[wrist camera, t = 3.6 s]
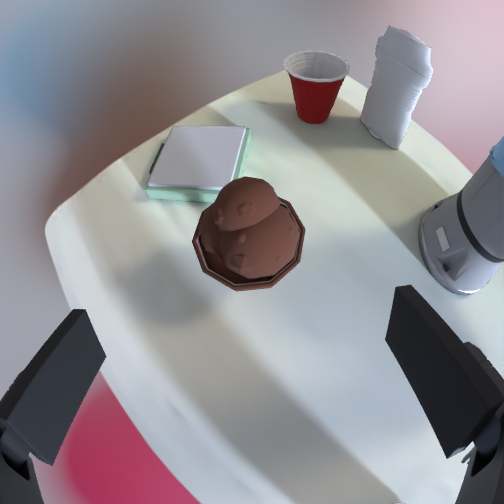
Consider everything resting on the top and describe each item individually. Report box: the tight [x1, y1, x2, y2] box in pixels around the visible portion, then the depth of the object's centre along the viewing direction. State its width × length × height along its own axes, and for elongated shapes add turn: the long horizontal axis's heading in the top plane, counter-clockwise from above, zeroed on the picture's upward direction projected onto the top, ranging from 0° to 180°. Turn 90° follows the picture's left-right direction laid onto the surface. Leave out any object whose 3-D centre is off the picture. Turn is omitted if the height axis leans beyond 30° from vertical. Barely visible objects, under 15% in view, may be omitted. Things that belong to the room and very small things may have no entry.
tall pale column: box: [360, 25, 433, 150], centre depth 34 cm, size 11×4×22 cm, turn 32°
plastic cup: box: [283, 51, 350, 124], centre depth 41 cm, size 11×11×12 cm
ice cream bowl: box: [192, 177, 305, 291], centre depth 29 cm, size 11×11×15 cm
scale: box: [144, 126, 252, 203], centre depth 41 cm, size 15×14×3 cm
